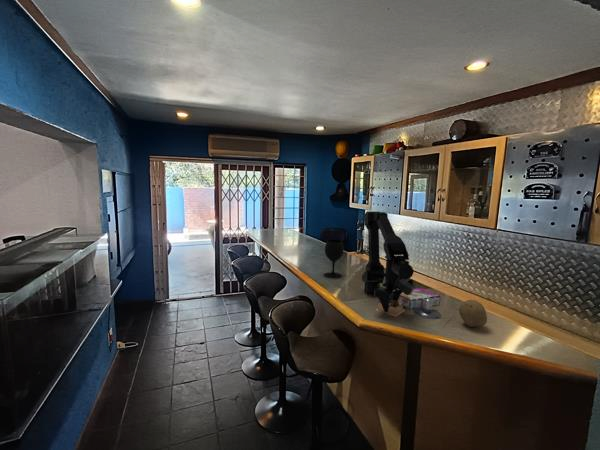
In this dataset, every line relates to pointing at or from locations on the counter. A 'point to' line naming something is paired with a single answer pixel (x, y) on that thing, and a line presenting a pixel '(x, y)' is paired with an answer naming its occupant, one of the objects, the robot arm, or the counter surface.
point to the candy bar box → (419, 298)
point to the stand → (391, 314)
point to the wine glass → (333, 255)
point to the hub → (427, 310)
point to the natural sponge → (473, 313)
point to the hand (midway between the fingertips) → (390, 308)
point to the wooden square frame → (392, 307)
